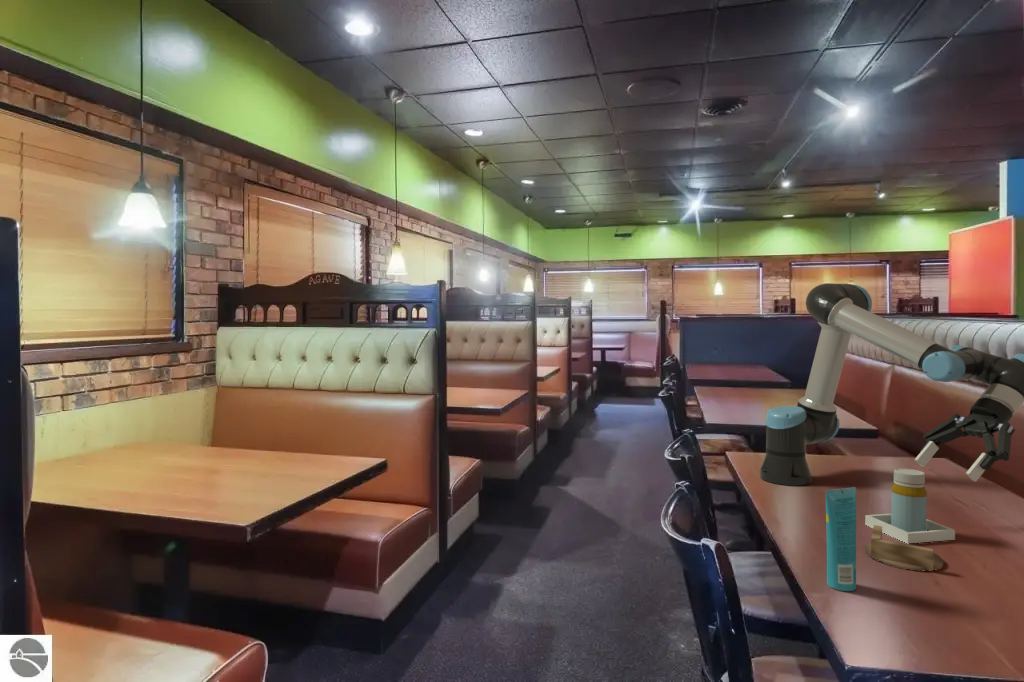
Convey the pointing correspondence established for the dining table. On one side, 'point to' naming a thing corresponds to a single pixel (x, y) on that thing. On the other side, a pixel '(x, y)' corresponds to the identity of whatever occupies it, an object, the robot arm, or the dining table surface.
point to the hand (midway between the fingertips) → (943, 470)
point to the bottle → (909, 500)
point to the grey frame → (934, 533)
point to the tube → (841, 538)
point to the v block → (902, 553)
